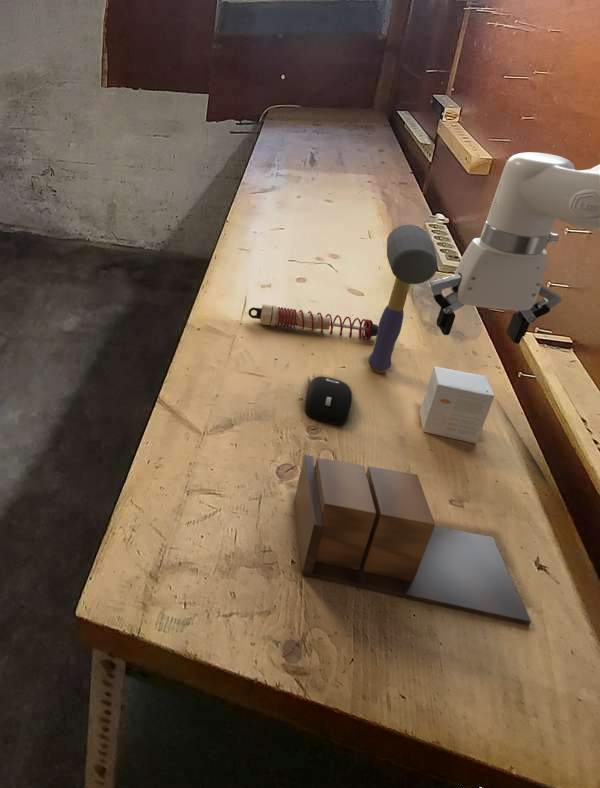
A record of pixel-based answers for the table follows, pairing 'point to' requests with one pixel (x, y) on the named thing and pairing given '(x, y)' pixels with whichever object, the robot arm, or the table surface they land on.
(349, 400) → the portable bluetooth speaker
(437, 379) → the small box
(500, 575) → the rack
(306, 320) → the shock absorber
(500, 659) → the table surface
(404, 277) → the rubber mallet
